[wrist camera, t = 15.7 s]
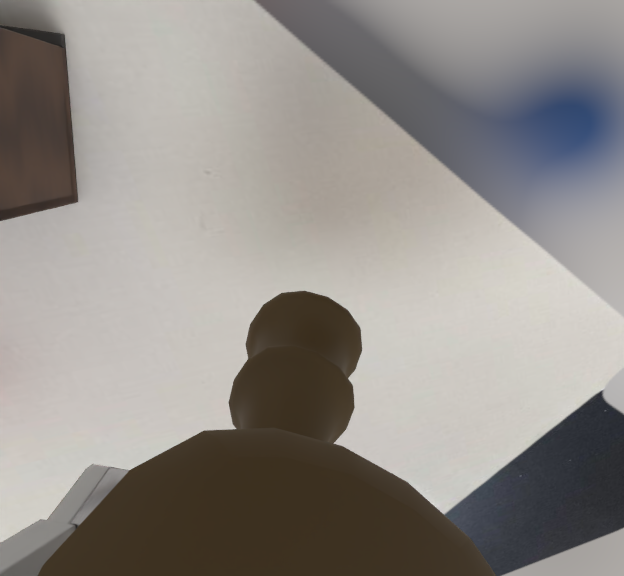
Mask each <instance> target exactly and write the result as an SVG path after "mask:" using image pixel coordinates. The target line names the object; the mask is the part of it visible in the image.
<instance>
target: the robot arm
mask: <svg viewBox="0 0 624 576" xmlns="http://www.w3.org/2000/svg"><path fill="white" fill-rule="evenodd" d="M128 472H129V470H124V469H119V468H114V467H107V466H102V465H96V464H92V465H91V466H89V467H88V468H87V469H85V471H84V472H83V473H82V475H81V476H80V477H79V479H78V480H77V481H76V483H75V484H74V485H73V486H72V488H71V489H70V490H69V492H68V493H67V494H66V496H65V497H64V498H63V500H62V501H61V502H60V503H59V505H58V506H57V507H56V509H55V510H54V511H53V513H52V514H51V515H50V516H49V518H48V519H47V520H42V519H40V520H39V521H37V522H35V523H34V524H32V525H30V526H29V527H27V528H25V529H23V530H22V531H20V532H18V533H17V534H15V535H13V536H12V537H10V538H8V539H6V540H5V541H3V542H1V543H0V576H38V574H39V572H40V570H41V568H42V566H43V565H44V564H45V562H46V561H47V560H48V559H49V558H50V557H51V556H52V555H53V554H54V553H55V551H56V550H57V549H58V548H59V547H60V546H61V545H62V544H63V543H64V542H65V541H66V539H67V538H68V537H69V536H70V535H71V534H72V533H73V532H74V531H75V530H76V528H77V527H78V526H79V525H80V524H81V523H82V522H83V521H84V520H85V519H86V518H87V516H88V515H89V514H90V513H91V512H92V511H93V510H94V509H95V508H96V507H97V505H98V504H99V503H100V502H101V501H102V500H103V499H104V498H105V497H106V496H107V495H108V493H109V492H110V491H111V490H112V489H113V488H114V487H115V486H116V485H117V484H118V482H119V481H120V480H121V479H122V478H123V477H124V476H125V475H126V474H127V473H128Z"/></svg>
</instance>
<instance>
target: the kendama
mask: <svg viewBox="0 0 624 576" xmlns="http://www.w3.org/2000/svg"><path fill="white" fill-rule="evenodd" d="M246 349H247V354H248V360H247V362H246V363H245V364H244V366H243V367H242V369H241V370H240V372H239V373H238V375H237V376H236V378H235V379H234V382H233V386H232V391H231V395H230V399H229V407H230V412H231V417H232V422H233V425H234V426H235V427H236V429H233V430H211V431H203V432H201V433H199V434H197V435H195V436H193V437H191V438H189V439H188V440H186V441H184V442H182V443H180V444H178V445H176V446H174V447H173V448H171V449H169V450H167V451H165V452H163V453H161V454H159V455H157V456H156V457H154V458H152V459H150V460H148V461H146V462H144V463H142V464H141V465H139V466H137V467H135V468H133V469H131V470H129V472H128V473H127V474H126V475H125V476H124V477H123V478H122V479H121V480H120V481H119V482H118V484H117V485H116V486H115V487H114V488H113V489H112V490H111V491H110V492H109V493H108V495H107V496H106V497H105V498H104V499H103V500H102V501H101V502H100V503H99V504H98V505H97V507H96V508H95V509H94V510H93V511H92V512H91V513H90V514H89V515H88V516H87V518H86V519H85V520H84V521H83V522H82V523H81V524H80V525H79V526H78V527H77V528H76V530H75V531H74V532H73V533H72V534H71V535H70V536H69V537H68V538H67V539H66V541H65V542H64V543H63V544H62V545H61V546H60V547H59V548H58V549H57V550H56V551H55V553H54V554H53V555H52V556H51V557H50V558H49V559H48V560H47V561H46V562H45V564H44V565H43V566H42V568H41V570H40V572H39V574H38V576H496V575H495V573H494V572H493V570H492V569H491V567H490V566H489V564H488V563H487V562H486V560H485V559H484V557H483V556H482V554H481V553H480V551H479V550H478V549H477V547H476V546H475V544H474V543H473V541H472V540H471V539H470V538H469V537H468V536H467V535H466V534H465V533H464V532H463V531H461V530H460V529H459V528H458V527H457V526H456V525H455V524H454V523H453V522H451V521H450V520H449V519H448V518H447V517H446V516H445V515H444V514H442V513H441V512H440V511H439V510H438V509H437V508H436V507H435V506H433V505H432V504H431V503H430V502H429V501H428V500H427V499H426V498H424V497H423V496H422V495H421V494H420V493H419V492H418V491H417V490H415V489H414V488H413V487H412V486H411V485H410V484H409V483H408V482H406V481H404V480H402V479H401V478H399V477H397V476H395V475H393V474H392V473H390V472H388V471H386V470H384V469H382V468H381V467H379V466H377V465H375V464H373V463H372V462H370V461H368V460H366V459H364V458H363V457H361V456H359V455H357V454H355V453H354V452H352V451H350V450H348V449H346V448H345V447H343V446H340V445H336V444H333V443H334V442H335V441H336V440H337V439H338V438H339V437H340V436H341V434H342V433H343V432H344V431H345V430H346V428H347V426H348V423H349V420H350V418H351V415H352V413H353V410H354V394H353V385H352V384H351V382H350V381H349V380H348V378H349V376H350V375H351V374H352V373H353V372H354V370H355V369H356V366H357V363H358V360H359V357H360V355H361V352H362V342H361V330H360V327H359V325H358V324H357V323H356V321H355V320H354V318H353V317H352V315H351V314H350V313H349V311H348V310H347V309H345V308H344V307H342V306H341V305H339V304H338V303H336V302H335V301H333V300H332V299H330V298H329V297H326V296H322V295H318V294H315V293H311V292H307V291H297V292H287V293H281V294H279V295H278V296H276V297H275V298H273V299H272V300H270V301H268V302H267V303H265V304H264V305H263V306H262V308H261V309H260V311H259V312H258V314H257V315H256V317H255V318H254V320H253V321H252V323H251V324H250V328H249V332H248V337H247V341H246Z"/></svg>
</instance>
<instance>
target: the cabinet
mask: <svg viewBox="0 0 624 576" xmlns="http://www.w3.org/2000/svg"><path fill="white" fill-rule="evenodd" d="M76 202H78V199H77V187H76V174H75V162H74V150H73V137H72V125H71V113H70V101H69V88H68V76H67V64H66V51H65V38H64V35H63V34H59V33H52V32H45V31H38V30H31V29H23V28H16V27H9V26H2V25H0V221H2V220H7V219H11V218H15V217H19V216H23V215H27V214H31V213H35V212H39V211H43V210H48V209H52V208H56V207H60V206H64V205H68V204H72V203H76Z"/></svg>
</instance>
